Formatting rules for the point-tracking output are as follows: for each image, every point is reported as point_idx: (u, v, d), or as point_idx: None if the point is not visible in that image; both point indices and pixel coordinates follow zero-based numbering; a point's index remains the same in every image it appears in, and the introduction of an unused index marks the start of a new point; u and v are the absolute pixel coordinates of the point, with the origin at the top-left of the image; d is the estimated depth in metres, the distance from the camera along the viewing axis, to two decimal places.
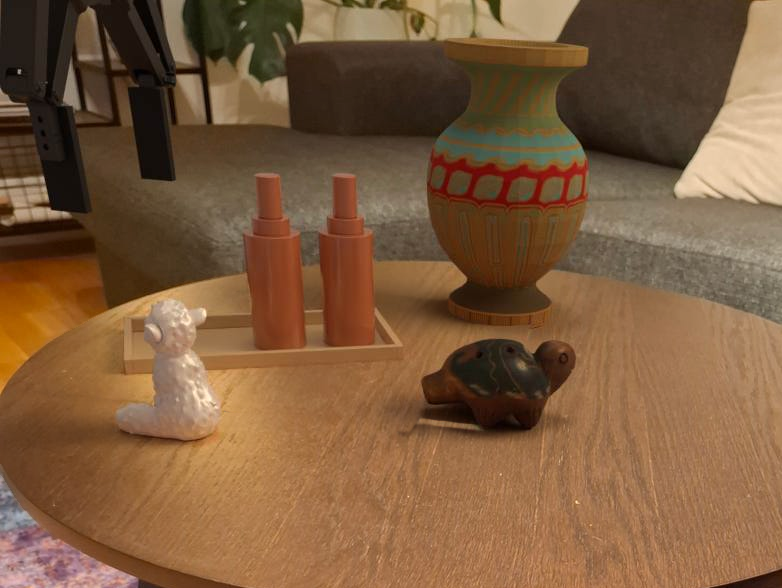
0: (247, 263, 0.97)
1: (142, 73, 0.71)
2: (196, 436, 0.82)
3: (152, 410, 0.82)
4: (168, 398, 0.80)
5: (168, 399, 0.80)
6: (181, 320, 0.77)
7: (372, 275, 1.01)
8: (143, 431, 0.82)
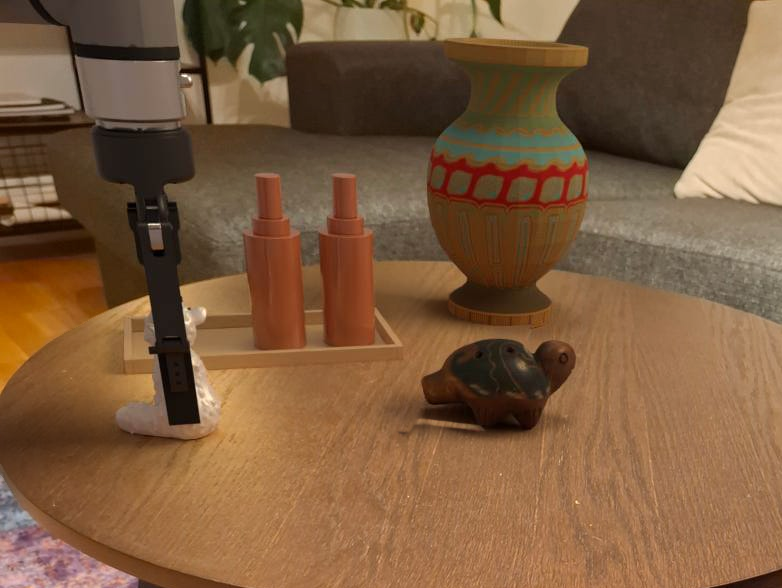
0: (247, 263, 0.97)
1: None
2: (196, 435, 0.82)
3: (152, 409, 0.82)
4: None
5: None
6: None
7: (372, 275, 1.01)
8: (143, 430, 0.83)
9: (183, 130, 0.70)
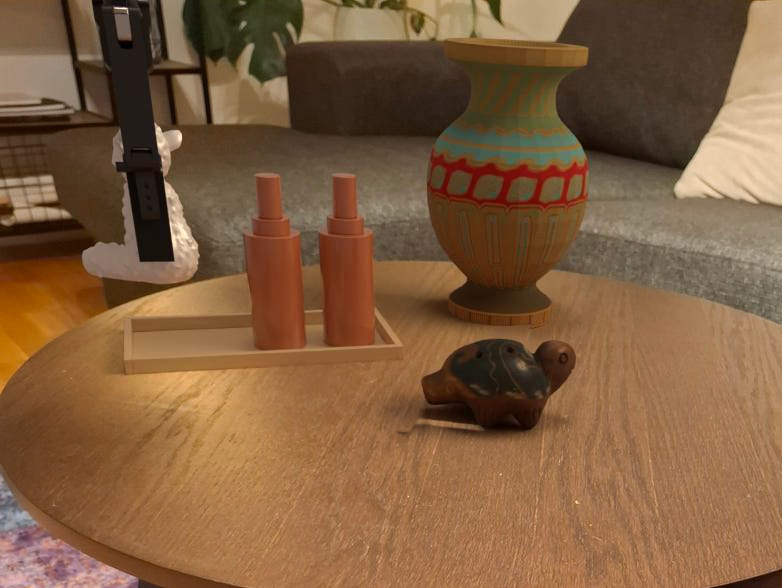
0: (247, 263, 0.97)
1: None
2: (171, 279, 0.75)
3: (122, 248, 0.74)
4: None
5: None
6: None
7: (372, 275, 1.01)
8: (112, 273, 0.75)
9: None
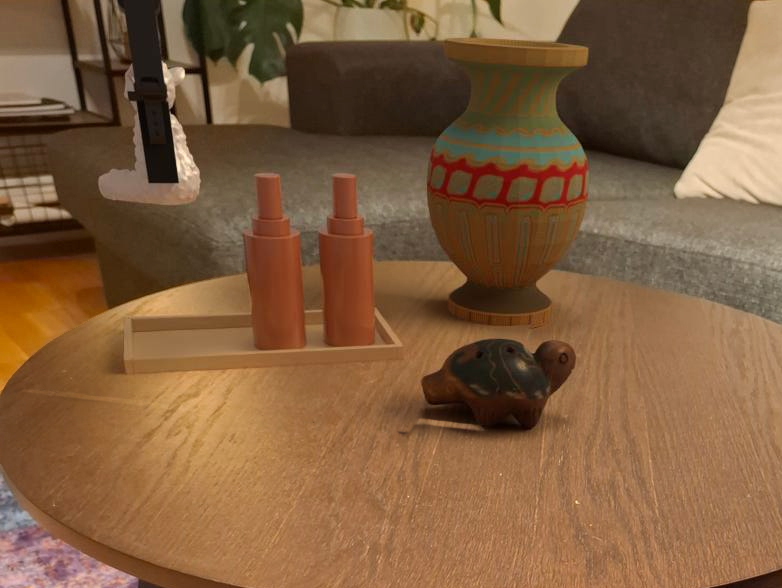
0: (247, 263, 0.97)
1: None
2: (176, 200, 0.86)
3: (133, 173, 0.85)
4: None
5: None
6: None
7: (372, 275, 1.01)
8: (125, 196, 0.86)
9: None
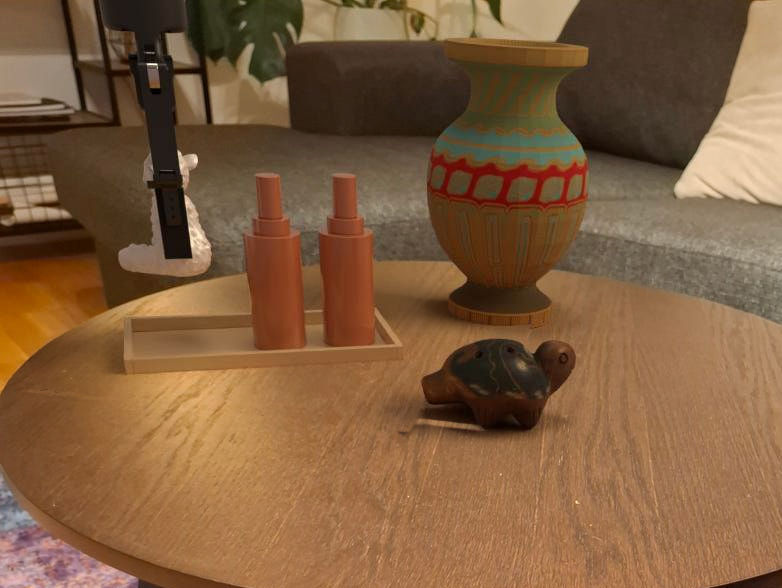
0: (247, 263, 0.97)
1: None
2: (189, 272, 0.94)
3: (151, 248, 0.93)
4: None
5: None
6: None
7: (372, 275, 1.01)
8: (143, 268, 0.94)
9: None
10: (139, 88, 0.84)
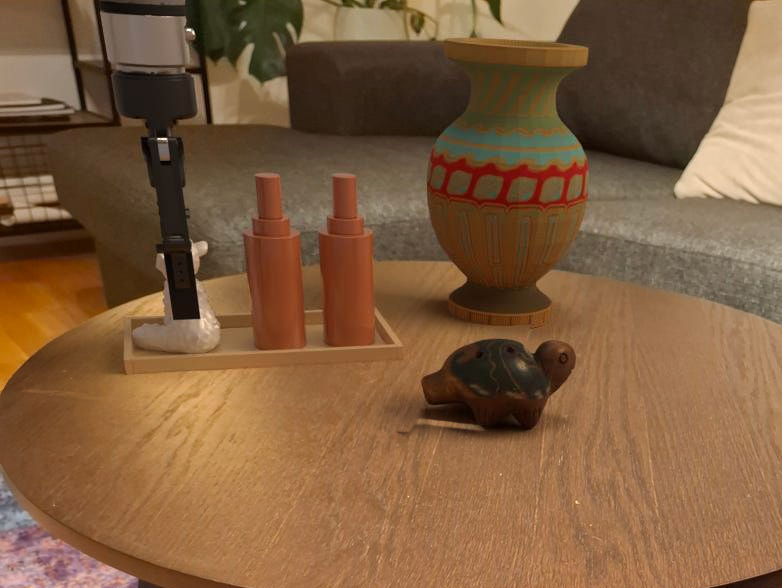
0: (247, 263, 0.97)
1: None
2: (200, 350, 0.99)
3: (163, 328, 0.98)
4: None
5: None
6: None
7: (372, 275, 1.01)
8: (155, 347, 0.99)
9: (187, 75, 0.85)
10: (150, 165, 0.87)
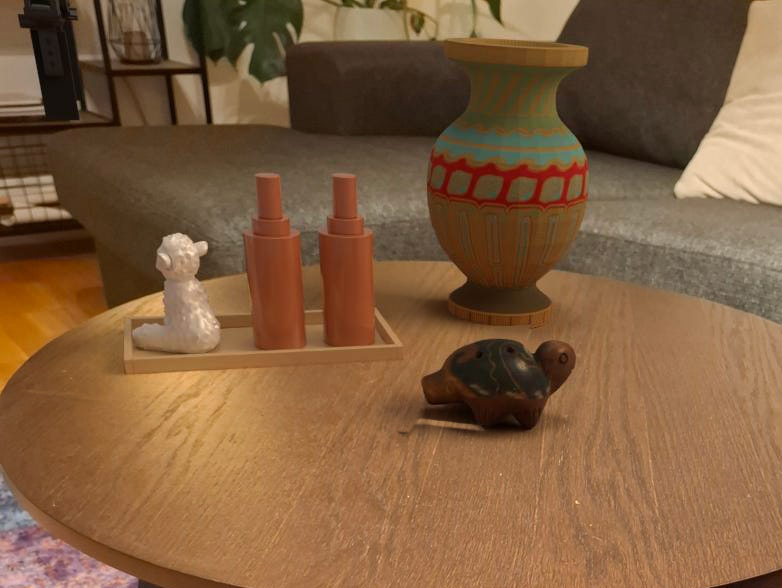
0: (247, 263, 0.97)
1: None
2: (200, 350, 0.99)
3: (163, 328, 0.98)
4: (176, 317, 0.97)
5: (176, 318, 0.97)
6: (187, 250, 0.93)
7: (372, 275, 1.01)
8: (155, 347, 0.99)
9: None
10: None
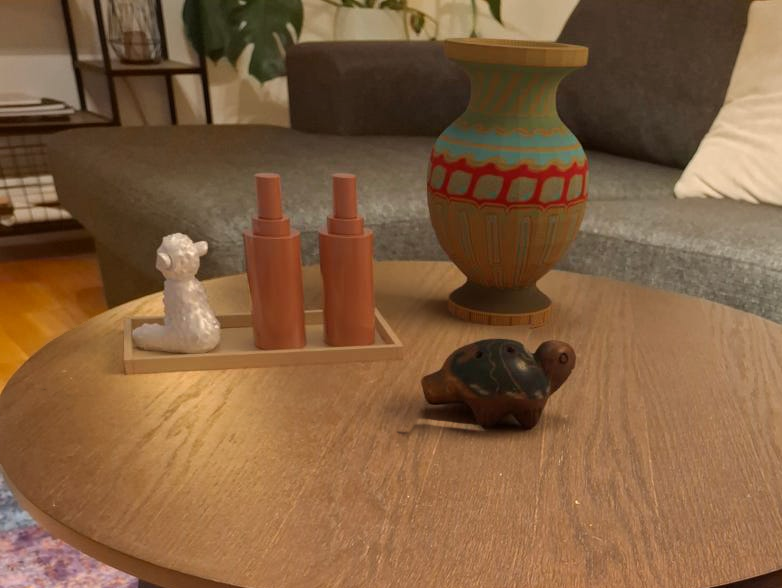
0: (247, 263, 0.97)
1: None
2: (200, 350, 0.99)
3: (163, 328, 0.98)
4: (176, 317, 0.97)
5: (176, 318, 0.97)
6: (187, 250, 0.93)
7: (372, 275, 1.01)
8: (155, 347, 0.99)
9: None
10: None
